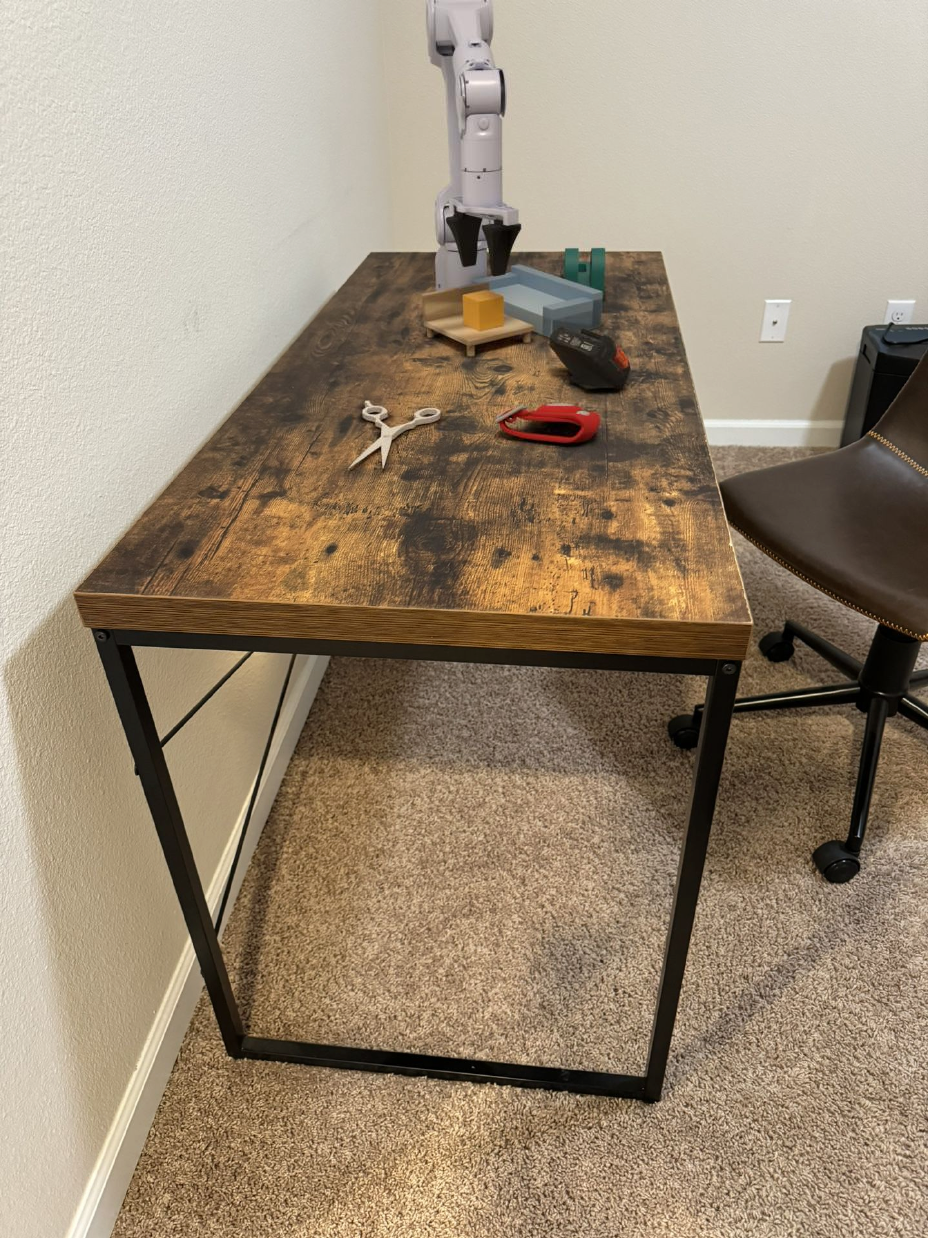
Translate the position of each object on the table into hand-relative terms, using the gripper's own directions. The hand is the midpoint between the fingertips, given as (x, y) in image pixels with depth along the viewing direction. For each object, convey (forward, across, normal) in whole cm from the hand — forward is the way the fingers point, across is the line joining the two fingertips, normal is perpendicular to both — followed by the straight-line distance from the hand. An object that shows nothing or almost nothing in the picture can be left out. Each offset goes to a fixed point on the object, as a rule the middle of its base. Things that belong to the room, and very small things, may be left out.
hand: (483, 270), depth 136 cm
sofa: (+10, -6, +14) cm, 18 cm away
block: (+8, 0, 0) cm, 8 cm away
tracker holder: (+12, +33, -14) cm, 38 cm away
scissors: (+11, +23, -31) cm, 40 cm away
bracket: (+10, -14, +32) cm, 36 cm away
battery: (+11, +23, +1) cm, 26 cm away
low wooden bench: (+11, -2, 0) cm, 11 cm away
